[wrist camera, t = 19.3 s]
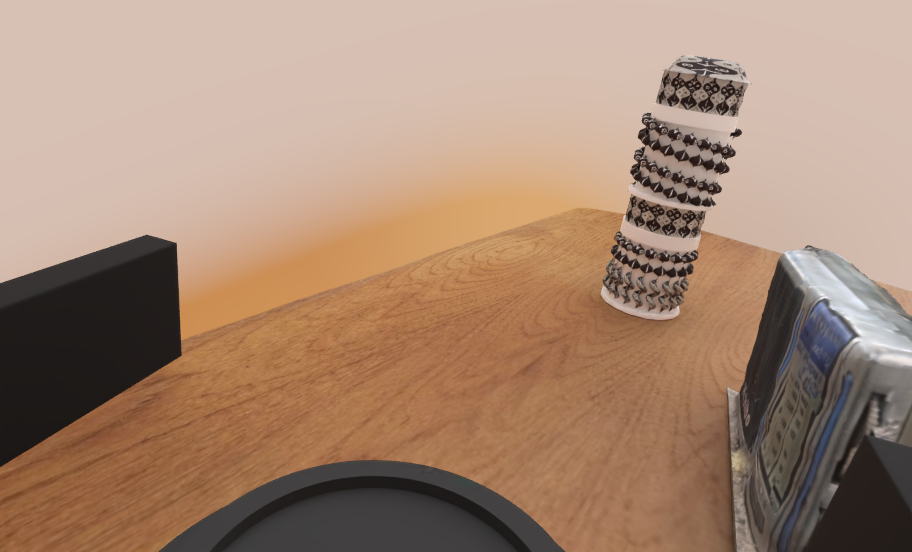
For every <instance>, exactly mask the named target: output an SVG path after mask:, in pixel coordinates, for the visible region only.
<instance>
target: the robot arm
mask: <svg viewBox="0 0 912 552" xmlns="http://www.w3.org/2000/svg"><path fill="white" fill-rule="evenodd" d="M180 334H181V333H180V310H179V288H178V266H177V244H176V243H174V242H171V241H167V240H164V239H160V238H157V237H153V236H149V235H145V236H142V237H139V238H136V239H133V240H130V241H127V242H124V243H121V244H117V245H115V246H111V247H109V248H106V249H102V250H100V251H96V252H93V253H90V254H87V255H84V256H81V257H79V258H75V259H72V260H69V261H66V262H63V263H60V264H57V265H54V266H51V267H48V268H45V269H42V270H39V271H36V272H33V273H30V274H27V275H24V276H21V277H18V278H15V279H12V280H9V281H6V282H3V283H0V467H1V466H3V465H4V464H6V463H8V462H9V461H11V460H13V459H14V458H16V457H17V456H19V455H21V454H22V453H24V452H26V451H27V450H29V449H30V448H32V447H34V446H35V445H37V444H39V443H40V442H42V441H43V440H45V439H47V438H48V437H50V436H52V435H53V434H55V433H56V432H58V431H60V430H61V429H63V428H65V427H66V426H68V425H69V424H71V423H73V422H74V421H76V420H78V419H79V418H81V417H82V416H84V415H86V414H87V413H89V412H91V411H92V410H94V409H95V408H97V407H99V406H100V405H102V404H104V403H105V402H107V401H109V400H110V399H112V398H113V397H115V396H117V395H118V394H120V393H122V392H123V391H125V390H126V389H128V388H130V387H131V386H133V385H135V384H136V383H138V382H139V381H141V380H143V379H144V378H146V377H148V376H149V375H151V374H152V373H154V372H156V371H157V370H159V369H161V368H162V367H164V366H165V365H167V364H169V363H170V362H172V361H174V360H175V359H177V358H178V357H180V356H182V355H181V335H180ZM805 552H912V447H910V446H906V445H902V444H899V443H895V442H891V441H888V440H884V439H881V438H877V437H873V436H870V435H866V434H865V435H864V437H863V439H862V441H861V443H860V445H859V447H858V449H857V451H856V453H855V455H854V456H853V458H852V460H851V462H850V464H849V466H848V468H847V470H846V472H845V474H844V476H843V478H842V480H841V482H840V484H839V486H838V488H837V489H836V491H835V493H834V495H833V497H832V499H831V501H830V503H829V505H828V507H827V509H826V511H825V513H824V515H823V517H822V519H821V521H820V522H819V524H818V526H817V528H816V530H815V532H814V534H813V536H812V538H811V540H810V542H809V544H808V546H807V548H806V550H805Z"/></svg>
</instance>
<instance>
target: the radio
mask: <svg viewBox="0 0 912 552" xmlns="http://www.w3.org/2000/svg"><path fill="white" fill-rule="evenodd" d="M727 390H728V414H729V438H730V462H731V486H732V511H733V535H734V552H805V550H806V548H807V546H808V544H809V542H810V540H811V538H812V536H813V534H814V532H815V530H816V528H817V526H818V524H819V522H820V521H821V519H822V517H823V515H824V513H825V511H826V509H827V507H828V505H829V503H830V501H831V499H832V497H833V495H834V493H835V491H836V489H837V488H838V486H839V484H840V482H841V480H842V478H843V476H844V474H845V472H846V470H847V468H848V466H849V464H850V462H851V460H852V458H853V456H854V455H855V453H856V451H857V449H858V447H859V445H860V443H861V441H862V439H863V437H864V435H865V434H866V435H870V436H873V437H877V438H881V439H884V440H888V441H891V442H895V443H899V444H902V445H906V446H910V447H912V316H910V315H909V314H907V313H906V312H905V311H904V309H903V308H902V307H901V305H900V304H899V303H898V302H897V301H896V300H895V299H894V298H893V297H892V295H890V294H889V292H888V291H887V290H886V289H884V288H882V287H881V286H879V285H877V284H876V283H875V282H874V281H873V280H871V279H869V278H868V277H867V276H865V275H864V274H863V273H861V272H860V271H859V270H858V269H857V268H856V267H855V266H854V265H853V264H851V263H850V262H848V261H847V260H846V259H844V258H843V257H841V256H840V255H837V254H836V253H833V252H830V251H826V250H822V249H818V248H814V247H812V246H806V247H805V248H804V249H800V250H794V251H786V252H785V253H783V254H782V255H781V256H780V258H779V260H778V263H777V266H776V270H775V273H774V276H773V278H772V281H771V285H770V288H769V291H768V297H767V302H766V304H765V308H764V312H763V314H762V319H761V322H760V325H759V330H758V334H757V338H756V341H755V345H754V347H753V351H752V354H751V357H750V360H749V362H748V365H747V370H746V376H745V381H744V383H743V385H742V387H741V390H740V392H739V393H737V392H736V391H734V390H732V389H730V388H729V387H727Z"/></svg>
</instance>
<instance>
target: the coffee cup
mask: <svg viewBox="0 0 912 552" xmlns="http://www.w3.org/2000/svg"><path fill="white" fill-rule="evenodd" d="M159 552H565V551H564V550H563V549H562V548H561V547H560V546H559V545H558V544H556V543H555V541H554V540H553V539H552V538H551V537H550V536H549V534H548V533H547V532H546V531H545V530H544V529H543V528H542V527H541V526H540V525H539V524H538V523H537V522H535V521H534V520H533V519H532V518H531V517H530V516H529V515H527V514H526V513H525V512H524V511H522V510H521V509H520V508H519V507H517V506H516V505H514V504H513V503H511V502H510V501H509V500H507V499H505V498H504V497H502V496H501V495H499V494H498V493H496V492H494V491H492V490H490V489H488V488H487V487H485V486H483V485H480V484H478V483H476V482H474V481H472V480H469V479H467V478H465V477H462V476H459V475H457V474H454V473H451V472H448V471H444V470H441V469H437V468H433V467H429V466H425V465H419V464H414V463H407V462H399V461H386V460H361V461H347V462H339V463H332V464H327V465H321V466H317V467H313V468H308V469H305V470H301V471H298V472H295V473H291V474H289V475H286V476H283V477H280V478H278V479H275V480H273V481H271V482H268V483H266V484H264V485H262V486H260V487H258V488H256V489H254V490H252V491H250V492H248V493H246V494H245V495H243V496H242V497H240V498H238V499H237V500H235V501H233V502H232V503H230V504H229V505H227V506H225V507H223V508H221V509H220V510H218V511H216V512H214V513H212V514H211V515H209V516H207V517H205V518H204V519H202V520H201V521H199V522H198V523H196V524H195V525H193V526H191V527H190V528H188V529H187V530H186V531H184V532H183V533H182V534H180V535H179V536H177V537H176V538H175V539H173V540H172V541H171V542H170V543H168V544H167V545H166V546H165V547H163V548H162V549H161V550H160V551H159Z"/></svg>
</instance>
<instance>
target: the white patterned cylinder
mask: <svg viewBox="0 0 912 552" xmlns="http://www.w3.org/2000/svg"><path fill="white" fill-rule="evenodd" d="M748 84H750V83H749V82H748V81H747V78H746V75H745V70H744V68H743V66H742V65H741V64H739V63H735V62H730V61H724V60H718V59H711V58H704V57H696V56H681V57H679V58H678V59H677V60H676V61H675V62H674V63H673V64H672V65H671V66H670V67H669V68H668V69H665V70H664V74H663V78H662V82H661V85H660V89H659V93H658V97H657V100H656V102H654V105H653V109H652V112H651V113H645V114H644V115H643V118H642V123H643V124H644V125H646V128H644V129H642V130H640V131H639V134H638V138H639V139H640V140H641V141H642V143H643V144H644V145H645V147H642V148H641V149H638V150H636V151H635V155H634V159H635V160H636V161H637V162H638V163H637V164H635V165H633V166H632V169H631V171H630V173H631V174H632V175H633V178H634V179H635V180H636V181H635V182H634V183H632V184H630V185H629V189H628V192H630V193H631V198H630V201H629V205H628V209H627V213H626V215H625V216H624V218H623V221H622V225H621V229H620V231H618V232H617V233H616V235H615V237H614V238H615V240H616V241H617V243H618V244H617V245H614V246H613V247H612V250H611V253H612V254H613V256H614V258H613V259H611V260H610V261H609V262H608V264H607V266H606V270H607V272H608V273H607V274H606V275H605V277H604V279H603V284H604V286H603V287H602V291H601V296H602V298H603V299H604V301H605V302H607V303H608V304H610V305H611V306H613V307H614V308H616V309H618V310H621V311H623V312H625V313H628V314H630V315H634V316H638V317H642V318H646V319H655V320H667V319H673V318H675V317H676V316H678V315H679V305H681V304H683V302H684V301H683V299H684V294H683V292H685V291H687V290H688V285H689V282H688V280H687V279H686V277H685V276H687V275H689V274H692V273H693V265H692V264H691V263H690V262H692V261H695V260H696V259H697V258H698V251H697V250H696V249H697V247H698V244H699V241H700V238H701V234H700V229H701V226H702V224H703V223H704V218H705V213H706V211H708V210H711V209H713V208H714V205H716V204H715V202H714V201H713V200H712V198H711V195H714V194H717V193H720V192H721V190H722V188H721V186H719V185H718V183H715V181H716V178H717V175H718V173H719V174H720V175H721V174H723V173H727V172H729V170H730V169H729V167H728V166H727V165H726V163H722V159H723V157H724V159H727V158H731V157H733V156H735V153H736V152H735V150H733V149H732V147H731V146H730V147H729V146H728V144H727V143H728V140H729V137H730V136H733V138H735V137H738V136H740V135H741V134H742V132H741V130H740V129H736V127H737V124H738V121H739V117H738V110H739V108H740V106H741V104H742V102H743V96H744V92H745V90H746V88H747V86H748ZM647 127H648V128H647ZM642 156H643V157H642Z"/></svg>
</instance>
